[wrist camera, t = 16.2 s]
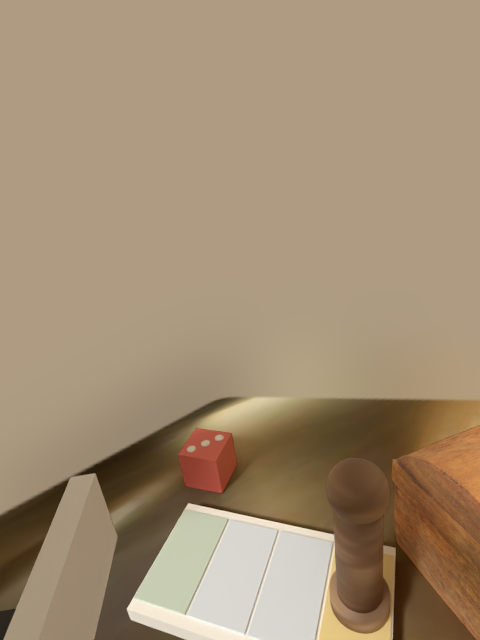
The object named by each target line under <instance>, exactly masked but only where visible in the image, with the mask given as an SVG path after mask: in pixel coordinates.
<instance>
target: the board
mask: <svg viewBox="0 0 480 640" xmlns="http://www.w3.org/2000/svg"><path fill="white" fill-rule="evenodd" d="M395 561H396V548H393V547H389V546H384V545H383V578H384V579H385V581H386V582H387V584H388V587H389V590H390V615H389V618H388V621H387V622H386V624H385V625H384V626H383V627H382V628H381V629H380V630H378V631H376V632H373V633H368V634H363V633H357V632H354V631H352V630H350V629H348V628H346V627H345V626H344V625H343V624H341V623H340V622H339V620H338V619H337V618H336V616H335V615H334V613H333V611H332V608H331V603H330V590H329V585H330V579H331V577H332V575H333V573H334V572H335V571H336V563H335V543H334V535H333V534H328V533H324V532H319V531H315V530H310V529H305V528H301V527H296V526H291V525H287V524H282V523H278V522H273V521H268V520H264V519H259V518H254V517H250V516H245V515H240V514H236V513H231V512H227V511H222V510H217V509H213V508H208V507H203V506H199V505H194V504H189V503H188V505H187V506H186V508H185V510H184V512H183V513H182V515H181V517H180V518H179V520H178V522H177V524H176V525H175V527H174V529H173V530H172V532H171V534H170V536H169V537H168V539H167V541H166V543H165V544H164V546H163V548H162V549H161V551H160V553H159V555H158V556H157V558H156V560H155V561H154V563H153V565H152V567H151V568H150V570H149V572H148V574H147V575H146V577H145V579H144V580H143V582H142V584H141V586H140V587H139V589H138V591H137V592H136V594H135V596H134V598H133V599H132V601H131V603H130V605H129V606H128V608H127V611H128V614H129V616H130V619H131V620H133V621H135V622H138V623H141V624H144V625H147V626H149V627H152V628H155V629H158V630H161V631H163V632H166V633H169V634H172V635H175V636H177V637H180V638H183V639H186V640H393V617H394V589H395Z"/></svg>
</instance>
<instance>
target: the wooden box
mask: <svg viewBox="0 0 480 640" xmlns="http://www.w3.org/2000/svg"><path fill="white" fill-rule="evenodd" d="M392 481H393V482H394V523H395V536H396V542H397V543H398V545H399V546H400V547H401V548H402V550H403V551H404V552H405V553H406V555H407V556H408V557H409V558H410V559H411V561H412V562H413V563H414V564H415V566H416V567H417V568H418V569H419V571H420V572H421V573H422V574H423V576H424V577H425V578H426V579H427V581H428V582H429V583H430V584H431V585H432V587H433V588H434V589H435V590H436V592H437V593H438V594H439V595H440V597H441V598H442V599H443V600H444V601H445V603H446V604H447V605H448V606H449V607H450V609H451V610H452V611H453V612H454V613H455V615H456V616H457V617H458V618H459V619H460V621H461V622H462V623H463V624H464V626H465V627H466V628H467V629H468V630H469V632H470V633H471V634H472V635H473V636H474V638H475V639H476V640H480V425H479V426H476V427H474V428H471V429H469V430H466V431H464V432H461V433H459V434H456V435H454V436H451V437H448V438H446V439H444V440H441V441H439V442H436V443H434V444H432V445H429V446H427V447H424V448H422V449H419V450H417V451H415V452H412V453H410V454H407V455H405V456H402V457H400V458H398V459H393V464H392Z"/></svg>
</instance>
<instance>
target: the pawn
mask: <svg viewBox="0 0 480 640" xmlns="http://www.w3.org/2000/svg"><path fill="white" fill-rule="evenodd" d="M326 492H327V497H328V500H329V503H330V504H331V506H332V508H333V523H334V543H335V563H336V571H335V572H334V573H333V575H332V577H331V579H330V585H329V590H330V603H331V608H332V611H333V613H334V615H335V616H336V618H337V619H338V620H339V622H340V623H341V624H343V625H344V626H345V627H346V628H348V629H350V630H352V631H354V632H357V633H363V634H368V633H373V632H376V631H378V630H380V629H381V628H382V627H383V626H384V625H385V624H386V622H387V621H388V618H389V615H390V590H389V587H388V584H387V582H386V581H385V579H384V578H383V541H384V513H385V511H386V510H387V508H388V505H389V502H390V487H389V483H388V480H387V478H386V476H385V475H384V473H383V472H382V470H381V469H380V468H379V467H378V466H377V465H375V464H374V463H372V462H371V461H369V460H366V459H363V458H357V457H353V458H347V459H344V460H342V461H340V462H338V463H337V464H336V465H335V466H334V467H333V468H332V470H331V471H330V473H329V475H328V478H327V482H326Z"/></svg>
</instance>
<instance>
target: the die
mask: <svg viewBox="0 0 480 640" xmlns="http://www.w3.org/2000/svg"><path fill="white" fill-rule="evenodd" d="M178 457H179V461H180V465H181V469H182V473H183V478H184V482H185V486H187V487H192V488H197V489H202V490H207V491H212V492H217V493H223V491H224V489H225V487H226V485H227V483H228V481H229V479H230V477H231V475H232V473H233V471H234V469H235V467H236V466H237V460H236V454H235V449H234V443H233V437H232V433H227V432H220V431H213V430H206V429H198V428H196V429H195V431H194V432H193V434H192V435H191V437H190V438H189V439H188V441H187V442H186V444H185V445H184V447H183V448H182V449H181V451H180V452H179V454H178Z"/></svg>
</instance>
